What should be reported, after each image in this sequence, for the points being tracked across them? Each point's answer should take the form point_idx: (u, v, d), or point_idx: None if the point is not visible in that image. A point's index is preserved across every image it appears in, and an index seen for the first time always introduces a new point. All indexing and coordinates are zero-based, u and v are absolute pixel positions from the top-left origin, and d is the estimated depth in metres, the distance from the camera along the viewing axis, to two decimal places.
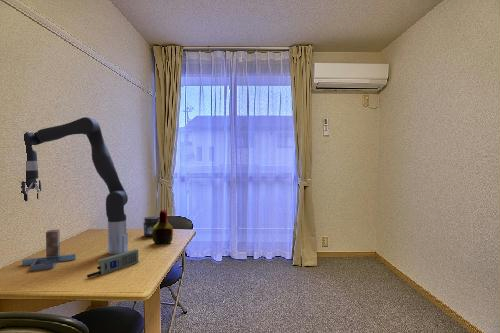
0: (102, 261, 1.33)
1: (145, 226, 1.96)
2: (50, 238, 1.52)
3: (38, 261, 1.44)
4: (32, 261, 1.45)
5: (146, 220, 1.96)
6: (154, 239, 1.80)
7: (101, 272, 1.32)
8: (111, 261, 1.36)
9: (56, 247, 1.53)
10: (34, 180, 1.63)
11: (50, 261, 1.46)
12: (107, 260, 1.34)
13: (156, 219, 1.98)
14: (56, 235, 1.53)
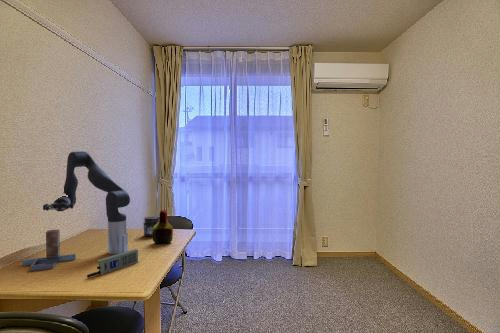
0: (102, 261, 1.33)
1: (145, 226, 1.96)
2: (50, 238, 1.52)
3: (38, 261, 1.44)
4: (32, 261, 1.45)
5: (146, 220, 1.96)
6: (154, 239, 1.80)
7: (101, 272, 1.32)
8: (111, 261, 1.36)
9: (56, 247, 1.53)
10: (64, 203, 1.74)
11: (50, 261, 1.46)
12: (107, 260, 1.34)
13: (156, 219, 1.98)
14: (56, 235, 1.53)
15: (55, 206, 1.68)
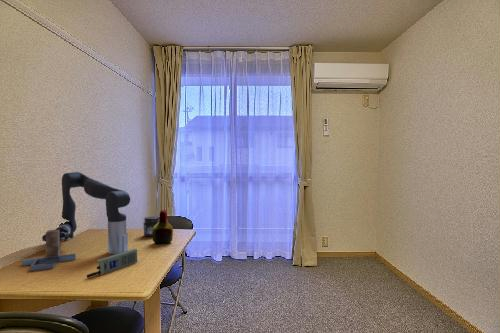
0: (102, 261, 1.33)
1: (145, 226, 1.96)
2: (50, 238, 1.52)
3: (38, 261, 1.44)
4: (32, 261, 1.45)
5: (146, 220, 1.96)
6: (154, 239, 1.80)
7: (101, 272, 1.33)
8: (111, 261, 1.36)
9: (56, 247, 1.53)
10: None
11: (50, 261, 1.46)
12: (107, 260, 1.35)
13: (156, 219, 1.98)
14: (56, 235, 1.53)
15: None
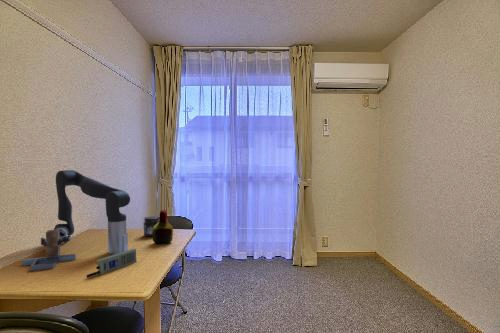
0: (101, 261, 1.33)
1: (145, 226, 1.96)
2: (50, 238, 1.52)
3: (38, 261, 1.44)
4: (32, 261, 1.45)
5: (146, 220, 1.96)
6: (154, 239, 1.80)
7: (100, 272, 1.33)
8: (110, 260, 1.36)
9: (56, 247, 1.53)
10: (60, 236, 1.63)
11: (50, 261, 1.46)
12: (106, 260, 1.35)
13: (156, 219, 1.98)
14: (56, 235, 1.53)
15: None
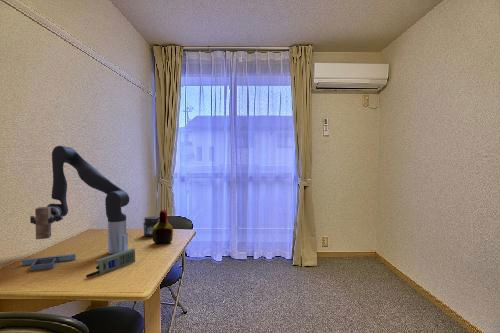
0: (101, 261, 1.33)
1: (145, 226, 1.96)
2: (40, 215, 1.39)
3: (38, 261, 1.44)
4: (32, 261, 1.45)
5: (146, 220, 1.96)
6: (154, 239, 1.80)
7: (100, 272, 1.33)
8: (110, 260, 1.37)
9: (47, 225, 1.40)
10: (52, 214, 1.50)
11: (50, 261, 1.46)
12: (106, 260, 1.35)
13: (156, 219, 1.98)
14: (47, 212, 1.40)
15: None
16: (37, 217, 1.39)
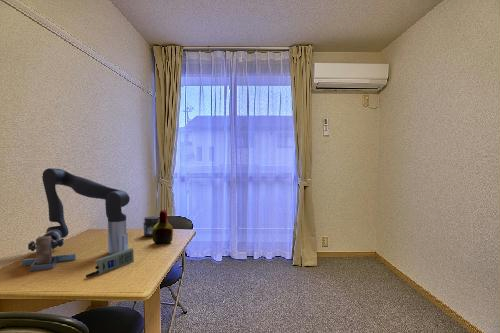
0: (100, 261, 1.33)
1: (145, 226, 1.96)
2: (41, 245, 1.39)
3: None
4: (32, 261, 1.45)
5: (146, 220, 1.96)
6: (154, 239, 1.80)
7: (99, 272, 1.33)
8: (109, 260, 1.37)
9: (47, 255, 1.40)
10: (52, 239, 1.50)
11: None
12: (105, 260, 1.35)
13: (156, 219, 1.98)
14: (47, 242, 1.40)
15: None
16: (38, 247, 1.39)
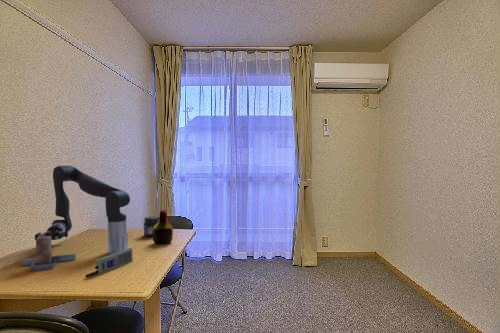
0: (100, 261, 1.33)
1: (145, 226, 1.96)
2: (41, 245, 1.39)
3: None
4: (32, 261, 1.45)
5: (146, 220, 1.96)
6: (154, 239, 1.80)
7: (99, 272, 1.33)
8: (108, 260, 1.37)
9: (47, 255, 1.40)
10: (57, 231, 1.61)
11: None
12: (104, 259, 1.35)
13: (156, 219, 1.98)
14: (47, 242, 1.40)
15: (48, 235, 1.56)
16: (38, 247, 1.39)
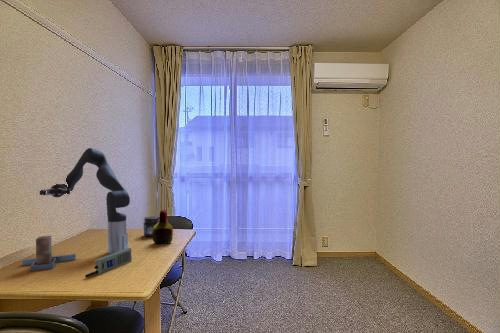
0: (99, 260, 1.33)
1: (145, 226, 1.96)
2: (40, 245, 1.39)
3: None
4: (32, 261, 1.45)
5: (146, 220, 1.96)
6: (154, 239, 1.80)
7: (98, 271, 1.33)
8: (108, 260, 1.37)
9: (47, 255, 1.40)
10: (60, 189, 1.76)
11: None
12: (104, 259, 1.35)
13: (156, 219, 1.98)
14: (47, 242, 1.40)
15: (52, 191, 1.71)
16: (38, 247, 1.39)
